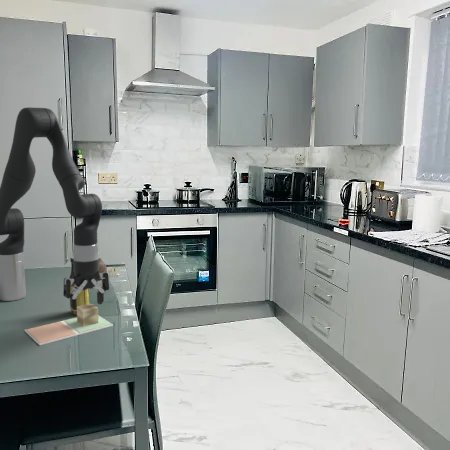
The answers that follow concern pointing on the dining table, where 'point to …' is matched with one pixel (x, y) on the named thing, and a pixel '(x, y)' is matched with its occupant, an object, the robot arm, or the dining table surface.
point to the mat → (64, 330)
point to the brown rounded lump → (102, 267)
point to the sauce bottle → (83, 295)
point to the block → (87, 314)
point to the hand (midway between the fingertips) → (87, 306)
